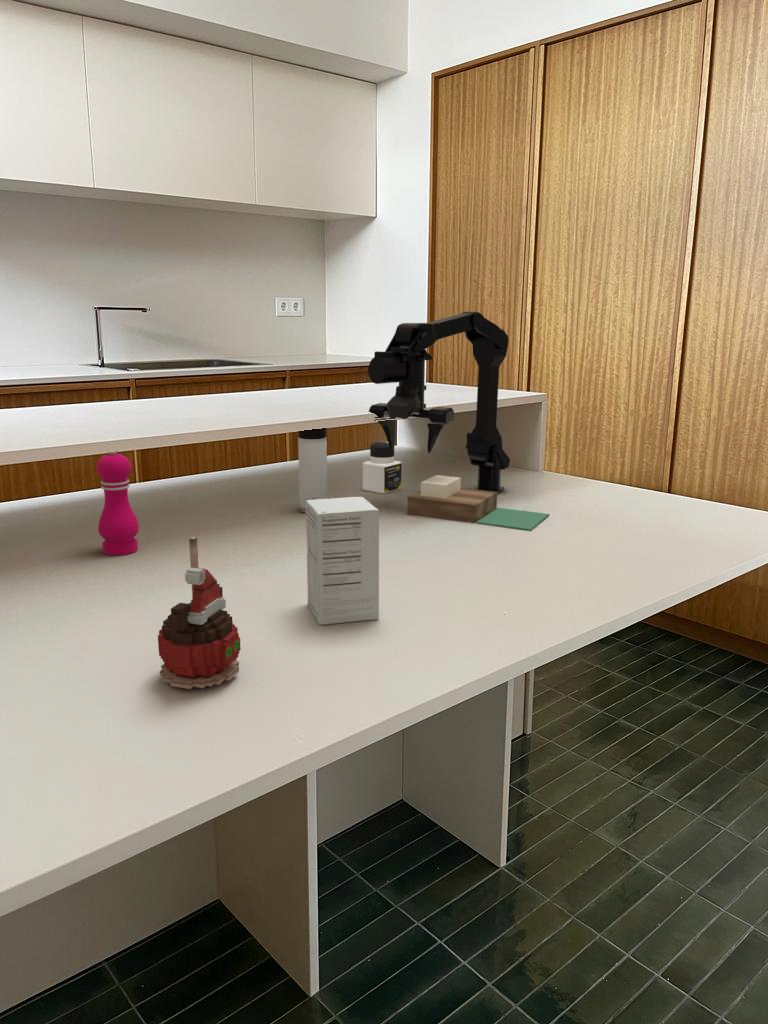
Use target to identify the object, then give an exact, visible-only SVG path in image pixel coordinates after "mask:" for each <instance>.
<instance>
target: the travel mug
mask: <svg viewBox="0 0 768 1024" xmlns="http://www.w3.org/2000/svg"><path fill="white" fill-rule="evenodd" d="M297 431H298V430H297ZM297 438H298V441H297V442H298V443H297V444H298V445H297V446H298V447H297V448H298V488H299V489H298V490H299V492H298V493H299V494H298V495H299V501H298V502H299V511H300V512H301V513H304V514H306V500H315V499H328V454H327V453H328V449H327V448H328V441H327V427H326V428H322V429H312V430H304V431H298V437H297Z"/></svg>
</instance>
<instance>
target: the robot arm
mask: <svg viewBox="0 0 768 1024" xmlns="http://www.w3.org/2000/svg"><path fill="white" fill-rule="evenodd" d="M462 333H464V336H465V338H466V339H467V340H468V341H469V342H470V344H471V346H472V355H473V357H474V360H475V362H476V363H477V367H478V372H477V373H478V374H477V392H476V393H477V394H476V395H477V396H476V415H475V425H474V427H473V429H472V431H471V432H467V434H466V446H465V449H466V451H467V455H468V457H469V461H470V465H471V466H477V485H476V486H475V487H474V488H473V489H474V490H483V491H492V492H497V494H499V493H500V492H502V491H503V490H505V486H501V474H502V472H501V471H502V470H506V469H508V468H509V466H510V462H511V458H510V457H509V456H508V454H507V453H506V452H505V451H504V449H503V439H502V436H501V433H500V431H499V429H498V427H497V413H498V401H499V399H498V397H499V382H500V381H499V378H500V366H501V365H502V363H503V362H504V360H505V358H506V357H507V353H508V348H509V347H508V346H509V335H508V334H507V333H506V331H505V330H504V329H501V328H500V327H499V325H497V324H495V323H493V322H492V321H490V320H489V319H487V318H486V317H485V316H484V315H483V314H482V313H480V312H479V311H463V312H461V313H458V314H455V315H451V316H448V317H444V318H441V319H436V320H433V321H429V322H402V323H400V324H398V325H397V326H396V329H395V332H394V335H393V337H392V338H391V340H390V342H389V344H388V345H387V347H386V349H385V351H381V350H380V351H379V350H378V351H374V353H373V355H374V357H373V358H372V359H371V360H370V361H369V364H368V366H367V374H368V377H369V380H370V381H371V382H372V383H373V384H376V385H380V384H381V385H383V384H394V383H398V385H397V386H396V387H395V395H394V396H392V397H391V398H390V399H389V400H388V402H387V403H383V402H379V403H374V404H371V406H370V407H369V409H368V413H369V412H371V413H374V414H376V415H377V416H378V417H375V418H374V419H376V418H381V419H376V420H385V421H378V422H377V423H378V424H379V425H380V426H381V428H382V431H383V432H384V435H385V437H386V440H387V441H386V442H388V444H389V446H390V449H394V450H395V447H394V446H395V444H396V420H397V419H401V420H407V419H409V418H423V419H429V421H430V422H428V423H427V424H426V425H427V428H428V433H427V434H428V437H427V453H428V454H430V453H432V450H433V448H434V445H435V444H436V441H437V439H438V438H439V435H440V433H441V431H442V429H443V427H444V426H445V425H449V422H453V421H455V411H454V409H453V408H452V407H449V406H448V407H447V406H435V407H432V408H429V409H427V403H425V391H427V385H426V384H425V376H426V375H425V374H426V373H425V371H426V370H425V369H426V365H425V364H426V361H432V360H433V356H432V355H431V354H429V353H428V351H427V349H428V348H430V347H432V346H433V345H435V343H436V342H437V341H439V340H441V339H444V338H447V337H452V336H455V335H459V334H462ZM386 417H390V418H386ZM374 419H373V421H374V422H375V421H376V420H374ZM386 419H396V420H386Z"/></svg>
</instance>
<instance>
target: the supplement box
mask: <svg viewBox="0 0 768 1024" xmlns="http://www.w3.org/2000/svg"><path fill="white" fill-rule="evenodd" d="M305 529H306V532H305V533H306V548H307V549H306V550H307V551H306V573H307V574H306V576H307V605H308V607H309V609H310V611H311V612H312V614H313V615H314V617H315V619H316V620H317V623H318V625H321V626H325V625H331V624H341V623H342V624H343V623H352V622H361V621H362V622H364V621H370V620H371V621H373V620H379V618H380V510H379V509H378V508H377V507H375V506H374V505H373V504H372V503H371V502H369V500H367V499H365V497H363V496H349V497H348V496H347V497H336V498H333V497H332V498H331V497H330V498H327V499H315V500H306V513H305Z"/></svg>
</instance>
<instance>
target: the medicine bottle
mask: <svg viewBox="0 0 768 1024" xmlns="http://www.w3.org/2000/svg"><path fill="white" fill-rule="evenodd" d="M369 447H370V448H369V452H370V453H369V454H370V455H369V458H370V460H367V461H365V462H363V463H362V490H363V491H367V492H372V493H378V494H384V495H385V494H388V493H393V492H396V491H400V490H402V470H403V469H402V463H403V462H402V461H399V460H395V445H394V449H390V446H389V444H388V441H374V442H373V443H371V444H370V446H369Z"/></svg>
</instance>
